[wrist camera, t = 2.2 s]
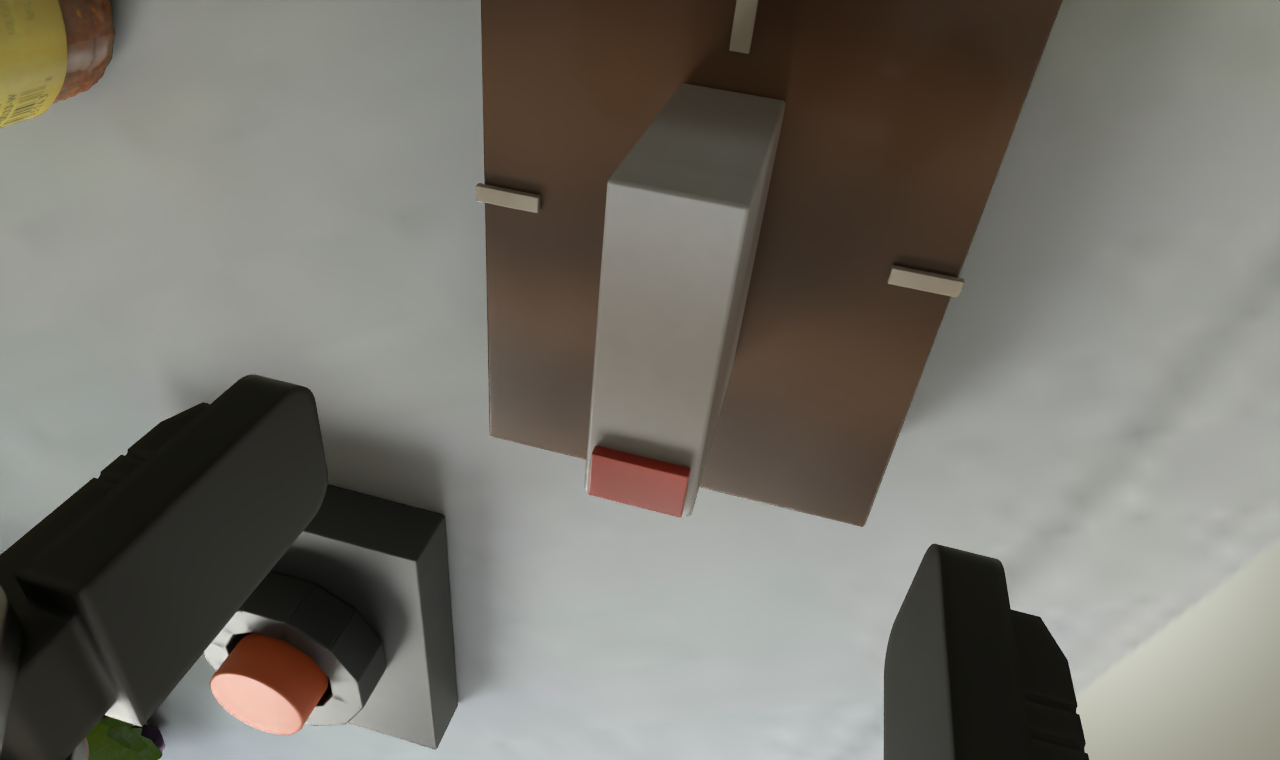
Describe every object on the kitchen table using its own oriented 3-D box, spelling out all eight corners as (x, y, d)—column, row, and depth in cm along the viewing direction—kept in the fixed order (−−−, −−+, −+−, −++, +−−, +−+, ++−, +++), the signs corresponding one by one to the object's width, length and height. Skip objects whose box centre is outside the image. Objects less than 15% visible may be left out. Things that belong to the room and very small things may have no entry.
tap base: (532, -206, 16) (465, -209, 13) (1080, -139, 14) (1121, -127, 12) (524, 373, 24) (482, 439, 21) (870, 453, 23) (868, 534, 20)
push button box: (194, 449, 30) (112, 525, 27) (445, 514, 29) (390, 603, 25) (255, 644, 37) (196, 722, 34) (458, 704, 36) (416, 792, 32)
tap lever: (680, 81, 15) (601, 185, 11) (787, 100, 15) (747, 214, 11) (648, 346, 19) (579, 501, 14) (733, 365, 18) (687, 528, 14)
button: (231, 620, 29) (198, 661, 28) (322, 647, 29) (293, 690, 27) (250, 678, 31) (220, 719, 30) (335, 704, 31) (309, 746, 29)
